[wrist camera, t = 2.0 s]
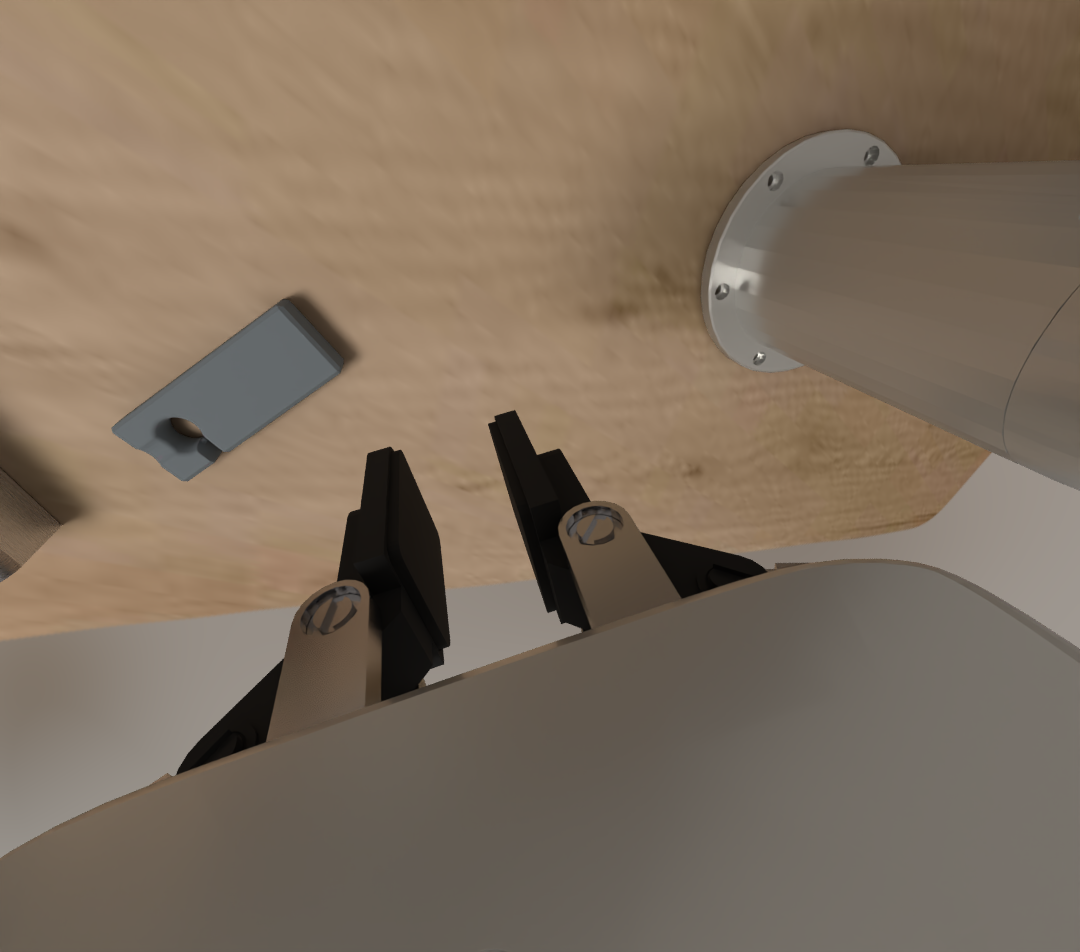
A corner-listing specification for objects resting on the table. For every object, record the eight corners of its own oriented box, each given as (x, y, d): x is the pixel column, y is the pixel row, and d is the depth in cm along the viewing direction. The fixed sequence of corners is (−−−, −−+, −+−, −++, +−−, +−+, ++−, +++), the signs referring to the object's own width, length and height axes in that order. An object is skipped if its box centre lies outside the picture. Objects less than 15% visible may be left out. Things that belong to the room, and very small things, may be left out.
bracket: (347, 359, 24) (343, 372, 23) (198, 466, 25) (184, 485, 24) (287, 294, 22) (278, 303, 20) (126, 413, 23) (105, 431, 21)
